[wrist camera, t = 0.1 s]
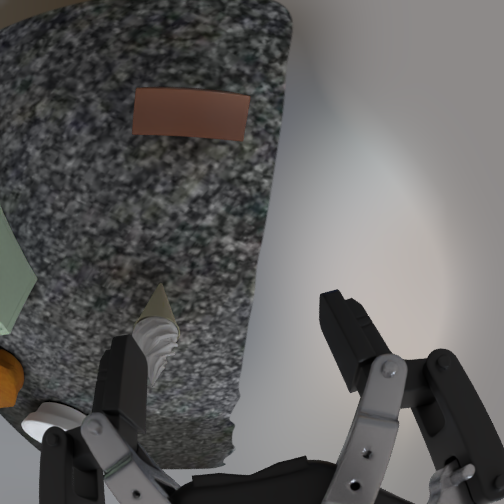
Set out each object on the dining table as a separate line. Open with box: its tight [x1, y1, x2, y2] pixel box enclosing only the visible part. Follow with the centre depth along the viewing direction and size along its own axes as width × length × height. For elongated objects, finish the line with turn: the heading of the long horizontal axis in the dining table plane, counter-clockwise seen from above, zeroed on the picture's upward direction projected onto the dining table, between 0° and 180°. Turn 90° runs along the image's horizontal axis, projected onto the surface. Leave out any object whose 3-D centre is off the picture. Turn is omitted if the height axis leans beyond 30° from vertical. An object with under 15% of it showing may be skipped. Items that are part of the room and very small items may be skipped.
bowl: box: [21, 402, 86, 443], centre depth 48 cm, size 21×21×8 cm
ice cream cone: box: [132, 283, 180, 387], centre depth 29 cm, size 5×5×15 cm
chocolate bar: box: [132, 86, 250, 141], centre depth 20 cm, size 3×7×11 cm, turn 80°
